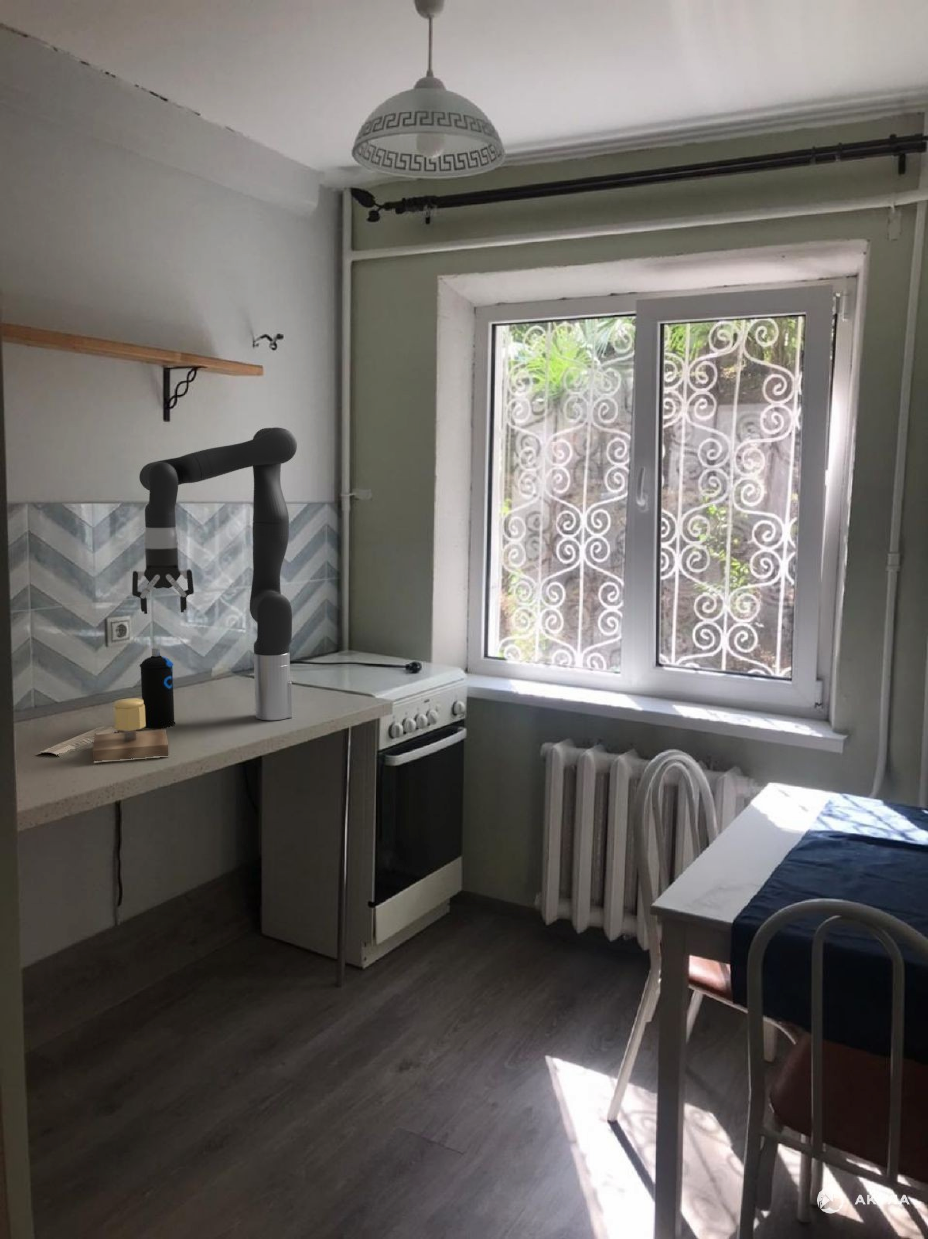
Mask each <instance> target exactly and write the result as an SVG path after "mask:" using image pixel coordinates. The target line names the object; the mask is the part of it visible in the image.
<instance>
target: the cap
mask: <svg viewBox="0 0 928 1239" xmlns="http://www.w3.org/2000/svg"><path fill="white" fill-rule="evenodd" d="M112 707H113V708H112V710H113V712H112V713H113V728H115V729H117V730H118V731H123V732H124V731H130V730H136V731H138V730H141V729H144V727H145V726H146V721H145V705H144V701H143V700H142V698H138V697H136V698H135V697H134V698H133V697H132V698H131V697H130V698H122V699H118V700H117V699H116V700H115V701H114V702H113V706H112Z"/></svg>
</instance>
